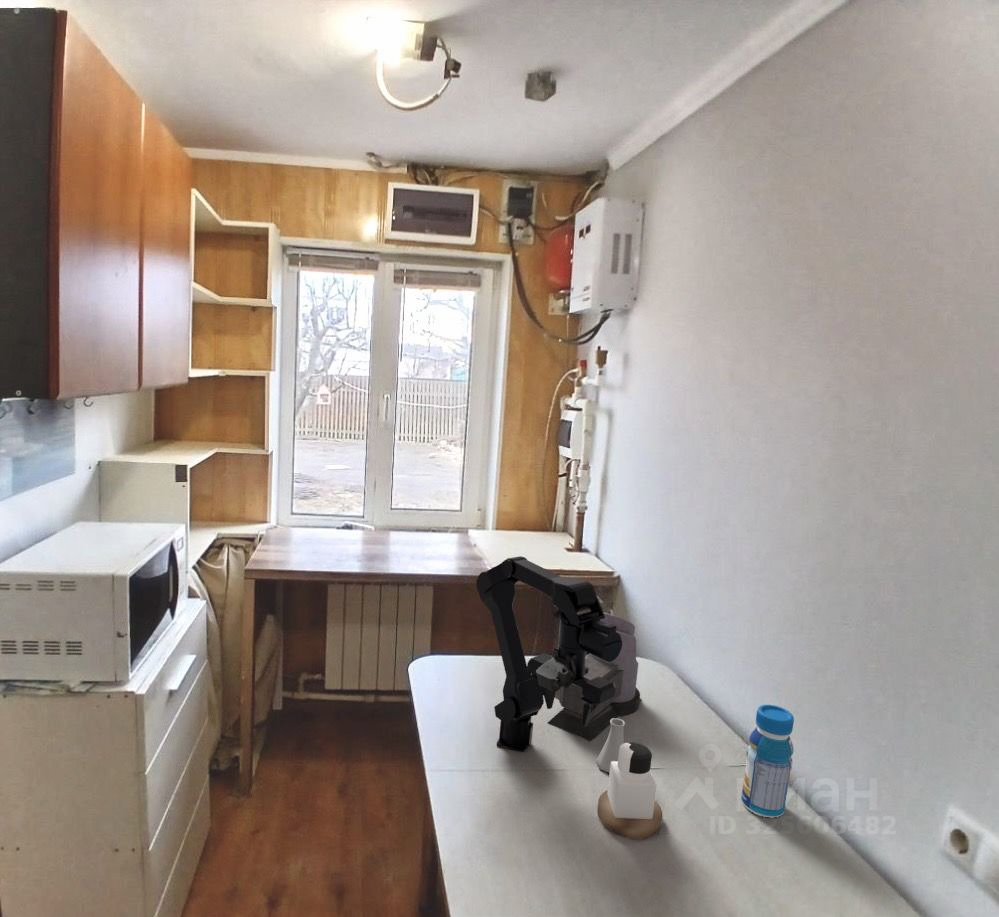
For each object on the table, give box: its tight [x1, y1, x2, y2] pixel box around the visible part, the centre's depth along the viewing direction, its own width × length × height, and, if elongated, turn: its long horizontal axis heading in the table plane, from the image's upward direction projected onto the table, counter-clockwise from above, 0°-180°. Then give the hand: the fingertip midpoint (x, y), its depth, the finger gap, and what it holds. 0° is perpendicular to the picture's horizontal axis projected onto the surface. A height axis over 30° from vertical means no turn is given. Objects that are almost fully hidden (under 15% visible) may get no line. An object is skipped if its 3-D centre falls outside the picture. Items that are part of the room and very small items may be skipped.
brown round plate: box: [596, 789, 663, 840], centre depth 128 cm, size 12×12×2 cm
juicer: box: [546, 611, 643, 743], centre depth 167 cm, size 30×16×24 cm, turn 145°
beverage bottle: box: [740, 704, 795, 819], centre depth 134 cm, size 8×8×20 cm
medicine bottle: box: [607, 741, 657, 819], centre depth 128 cm, size 7×7×12 cm
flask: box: [595, 717, 626, 774], centre depth 144 cm, size 7×7×10 cm
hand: (566, 717), depth 138 cm, fingers open, 9 cm apart
